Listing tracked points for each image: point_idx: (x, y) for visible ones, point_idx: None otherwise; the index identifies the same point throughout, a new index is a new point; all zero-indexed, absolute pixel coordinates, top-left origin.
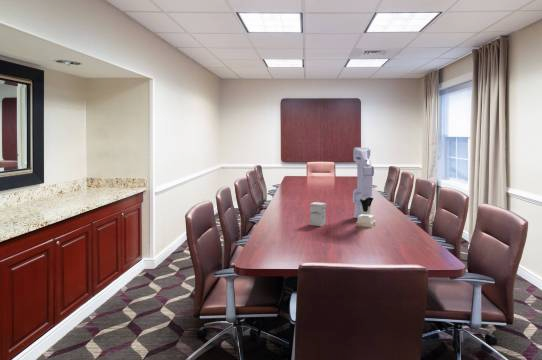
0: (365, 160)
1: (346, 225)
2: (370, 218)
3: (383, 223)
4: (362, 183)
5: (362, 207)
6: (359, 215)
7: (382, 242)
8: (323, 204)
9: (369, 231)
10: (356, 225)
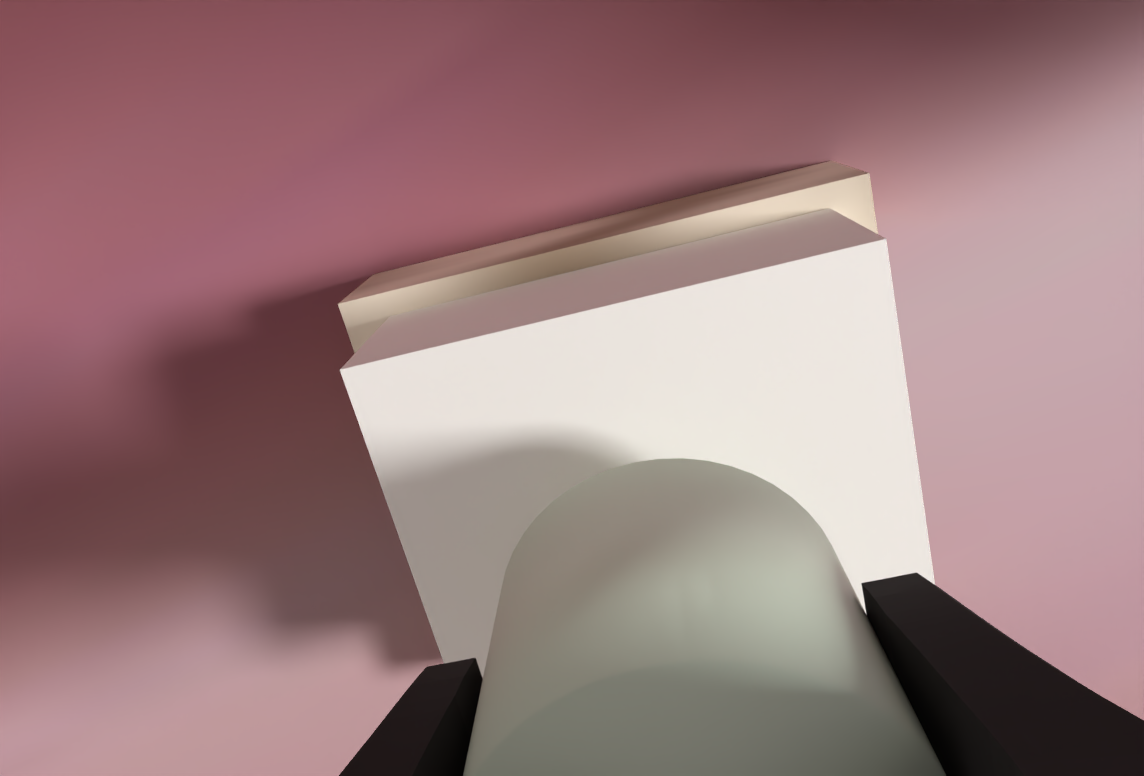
0: None
1: (201, 8)
2: None
3: (1139, 651)
4: None
5: (538, 663)
6: (552, 330)
7: None
8: None
9: (131, 759)
10: (370, 279)
